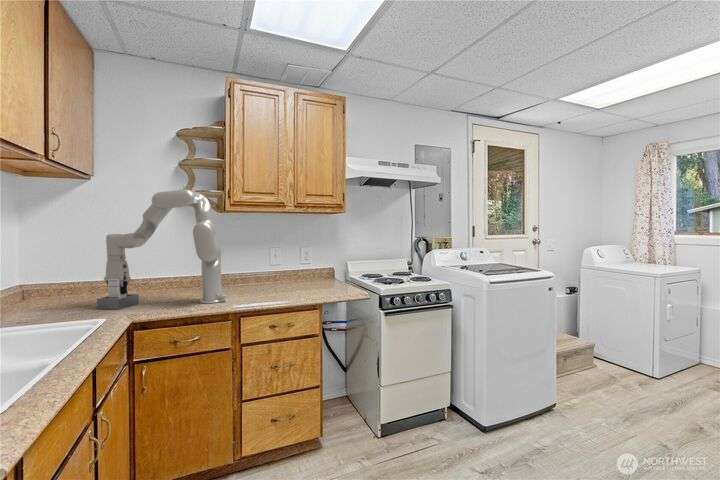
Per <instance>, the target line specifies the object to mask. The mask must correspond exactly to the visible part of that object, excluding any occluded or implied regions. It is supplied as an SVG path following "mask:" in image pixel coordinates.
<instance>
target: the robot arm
mask: <svg viewBox="0 0 720 480" xmlns="http://www.w3.org/2000/svg"><path fill="white" fill-rule="evenodd" d="M183 207H188V208H192V209H193V210H194V218H195V222H196V224H195V225H194V227H193V228H192V236H193V242H194V246H195V252H196V255H197V258H198V259H200V260H201V292H202V298H200V299H199V303H200V304H216V303H221V302H224V301H226V299H228V297H229V294H228V293H227V294H226V293H224V291H223V290H222V250H221V247H220V245H219V244H218V243H217V242H216V239H215V236H216V234H217V229H216V225H215V224H216V223H215V219H214V215H213V210H212V205H211V203H210V201H209V199H208V198H207V197H206V196H205V195H203V194H202V193H199V192H197V191H194V190H190V189H176V190H166V191H158V192H156V193H154V194H153V196H152V197H151V205H150V206H148V208H147V209H146V210H145V211H144V212H143V214H142V221H141V224H140V225H139V227H138V228H137V229H136V230H135V231H134V232H130V233H123V234H122V233H109V234H107V235H106V237H105V242H106V266H105V276H104V277H103V280H104V281H105V283H106V284H107V285H108V279H119V281H120V284H121V287H120V292H121V294H126V293H127V292H128V285H129V283H130V282H131V281H132V277H130V267H129V263H128V261H127V260H126V259H127V256H126V249H135V248H141V247H143V245H145V244H146V243H147V242H148V240H149V239H151V237H152V236H153V235H154V233H155V231H156V230H157V228H158V227H159V224H160V223H161V222H162V221H163V220H164V219H165V218H166V216H167V215H168V214H169V213H170V212H171V211H172V209H174V208H176V209H177V208H183ZM123 281H124V283H123Z"/></svg>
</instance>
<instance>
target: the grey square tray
mask: <svg viewBox="0 0 720 480" xmlns="http://www.w3.org/2000/svg"><path fill="white" fill-rule="evenodd" d="M139 304H140V296H139V294H137V293H136V294H135V293H128V297H124V298H120V299H109V295H107V296H104V297H98V298H96V309H97V310H111V311H112V310H114V311H115V310H117V311H119V310H122V309H123V310H124V309H125V308H129V307H133V306H136V305H139Z"/></svg>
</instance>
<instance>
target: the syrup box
mask: <svg viewBox="0 0 720 480" xmlns="http://www.w3.org/2000/svg"><path fill="white" fill-rule="evenodd" d="M123 283H124V281H123ZM107 287H108V288H107V289H108V290H107V291H108V296H109V299H120V298H124V297H128V294H129V292H128V291H127V293H126V294H121V292H120V287H121V284H120V281H119V279H108V284H107Z"/></svg>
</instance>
